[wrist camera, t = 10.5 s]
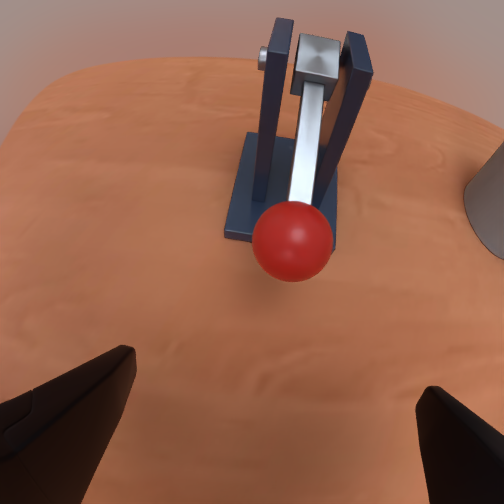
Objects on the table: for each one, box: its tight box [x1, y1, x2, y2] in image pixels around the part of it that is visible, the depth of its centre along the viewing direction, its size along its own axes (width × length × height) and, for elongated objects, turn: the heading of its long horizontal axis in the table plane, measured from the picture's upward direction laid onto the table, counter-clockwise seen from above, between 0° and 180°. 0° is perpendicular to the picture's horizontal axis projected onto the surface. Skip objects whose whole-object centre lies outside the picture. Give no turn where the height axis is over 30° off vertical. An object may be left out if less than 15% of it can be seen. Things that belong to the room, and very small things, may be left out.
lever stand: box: [224, 18, 373, 255], centre depth 20 cm, size 10×8×14 cm
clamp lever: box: [252, 33, 341, 282], centre depth 15 cm, size 13×4×4 cm, turn 171°
